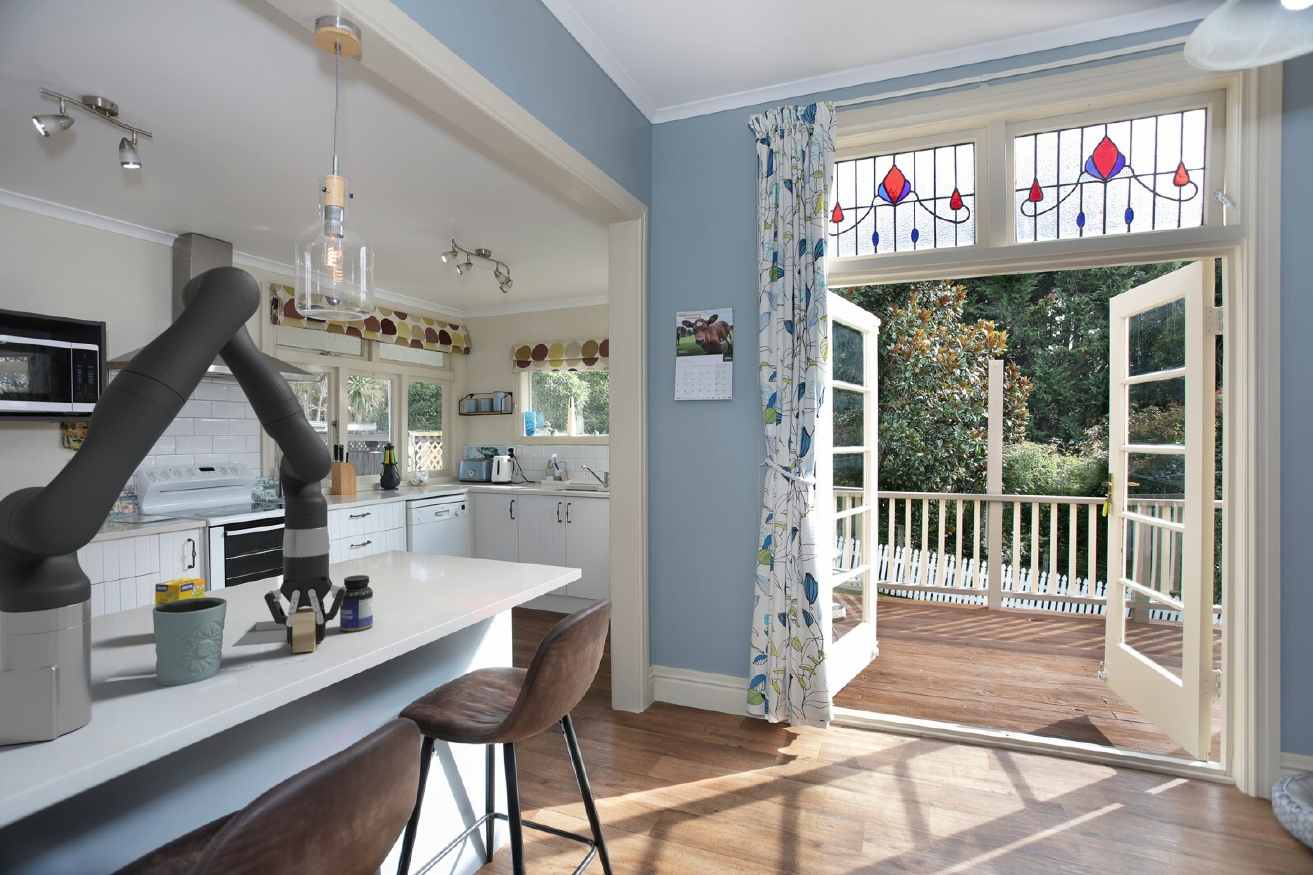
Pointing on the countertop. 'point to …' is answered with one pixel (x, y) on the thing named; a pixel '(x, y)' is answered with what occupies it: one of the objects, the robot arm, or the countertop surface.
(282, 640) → the mat
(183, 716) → the countertop surface
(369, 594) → the pill bottle
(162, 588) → the supplement box
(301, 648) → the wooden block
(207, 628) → the green embossed planter
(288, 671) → the countertop surface
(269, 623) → the tile
